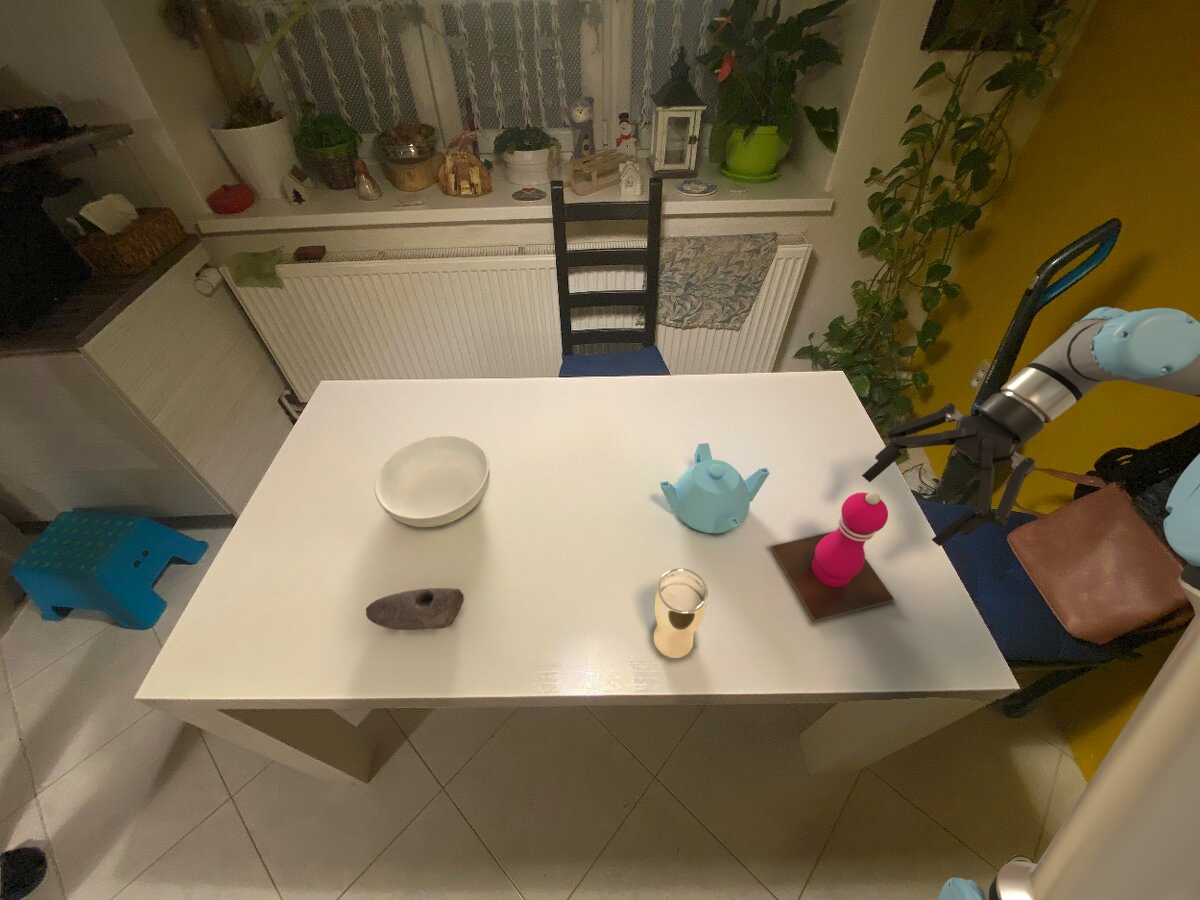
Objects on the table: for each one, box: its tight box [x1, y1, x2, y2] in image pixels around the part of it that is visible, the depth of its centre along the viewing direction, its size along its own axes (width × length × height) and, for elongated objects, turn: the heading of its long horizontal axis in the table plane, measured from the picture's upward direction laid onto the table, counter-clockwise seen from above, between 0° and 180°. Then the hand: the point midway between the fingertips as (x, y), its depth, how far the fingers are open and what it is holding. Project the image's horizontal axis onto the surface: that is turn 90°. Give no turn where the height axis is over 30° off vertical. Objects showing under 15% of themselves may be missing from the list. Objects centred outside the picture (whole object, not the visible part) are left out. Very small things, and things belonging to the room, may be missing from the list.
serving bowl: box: [373, 434, 491, 528], centre depth 96 cm, size 21×21×7 cm
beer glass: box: [653, 567, 709, 659], centre depth 73 cm, size 7×7×15 cm
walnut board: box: [770, 531, 895, 623], centre depth 85 cm, size 14×14×1 cm
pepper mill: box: [812, 491, 889, 587], centre depth 77 cm, size 7×7×20 cm
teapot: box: [659, 442, 770, 534], centre depth 92 cm, size 15×15×11 cm
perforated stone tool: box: [365, 587, 464, 630], centre depth 78 cm, size 15×5×7 cm, turn 92°
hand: (898, 509), depth 78 cm, fingers open, 13 cm apart
